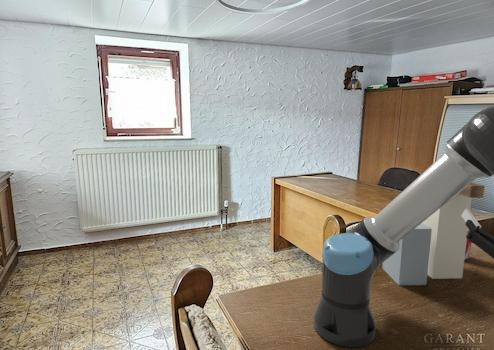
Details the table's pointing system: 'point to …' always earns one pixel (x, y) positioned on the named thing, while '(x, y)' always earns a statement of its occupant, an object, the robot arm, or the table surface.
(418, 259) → the tall pale gray pillar
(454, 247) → the tall cream rectangular block
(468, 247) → the soda can
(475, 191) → the brown wooden beam
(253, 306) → the table surface
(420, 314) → the table surface
